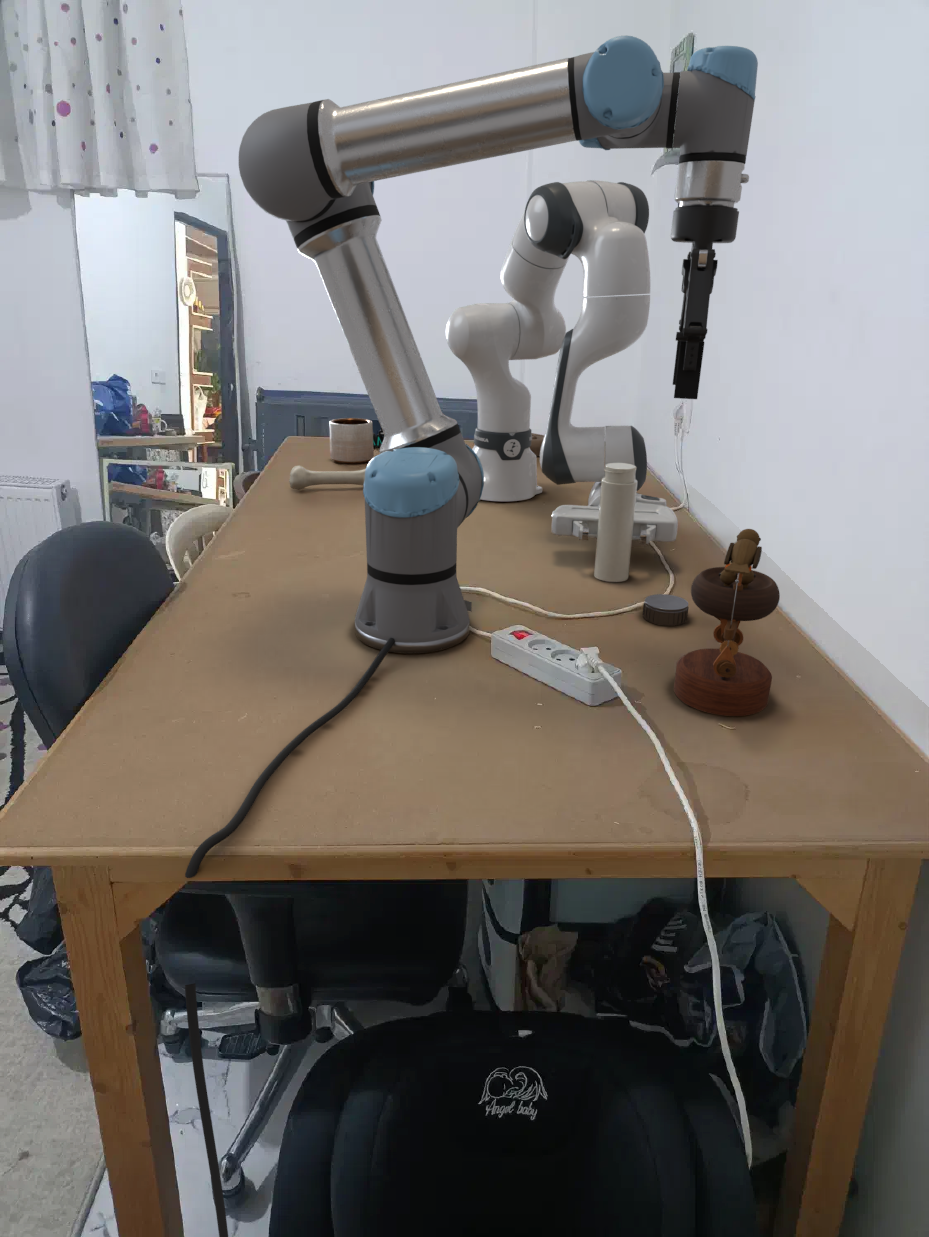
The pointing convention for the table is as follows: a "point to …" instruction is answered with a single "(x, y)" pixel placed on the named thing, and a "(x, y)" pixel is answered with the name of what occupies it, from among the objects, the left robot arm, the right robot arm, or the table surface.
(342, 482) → the dog toy
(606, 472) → the bottle
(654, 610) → the lid
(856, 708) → the table surface
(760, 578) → the brown wooden sculpture
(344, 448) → the planter
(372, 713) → the table surface
